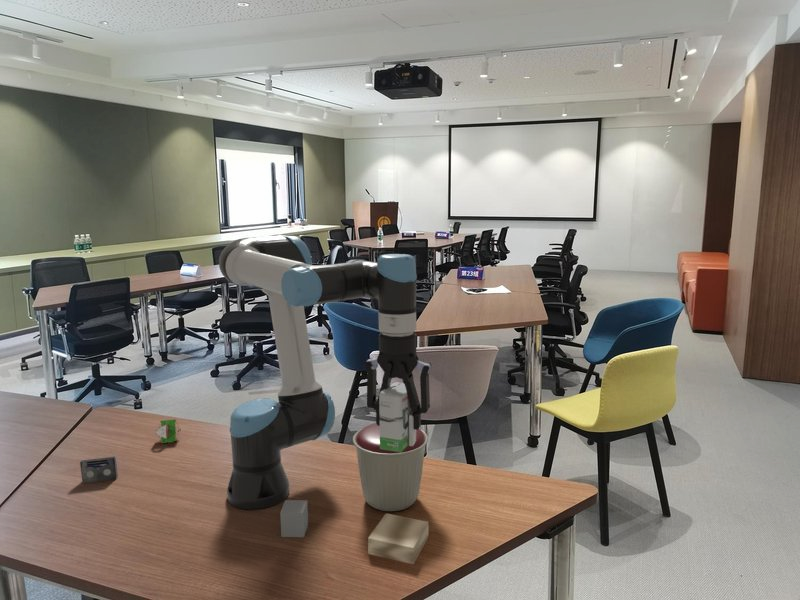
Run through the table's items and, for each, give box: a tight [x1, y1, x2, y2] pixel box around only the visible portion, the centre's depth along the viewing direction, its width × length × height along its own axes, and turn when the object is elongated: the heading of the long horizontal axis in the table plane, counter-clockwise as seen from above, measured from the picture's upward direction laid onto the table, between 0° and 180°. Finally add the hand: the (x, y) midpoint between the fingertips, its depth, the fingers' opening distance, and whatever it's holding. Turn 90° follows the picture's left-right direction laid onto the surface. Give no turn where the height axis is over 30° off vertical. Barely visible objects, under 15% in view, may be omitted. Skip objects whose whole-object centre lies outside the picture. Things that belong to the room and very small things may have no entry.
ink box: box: [378, 381, 417, 452], centre depth 116 cm, size 9×5×12 cm, turn 156°
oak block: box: [367, 513, 430, 565], centre depth 121 cm, size 10×10×4 cm
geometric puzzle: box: [155, 418, 180, 444], centre depth 174 cm, size 7×7×8 cm
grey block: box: [279, 499, 309, 538], centre depth 127 cm, size 5×5×6 cm
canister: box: [352, 422, 429, 512], centre depth 138 cm, size 18×18×21 cm
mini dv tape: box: [79, 456, 119, 484], centre depth 150 cm, size 8×2×6 cm, turn 105°
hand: (398, 441), depth 117 cm, fingers closed on ink box, 5 cm apart
